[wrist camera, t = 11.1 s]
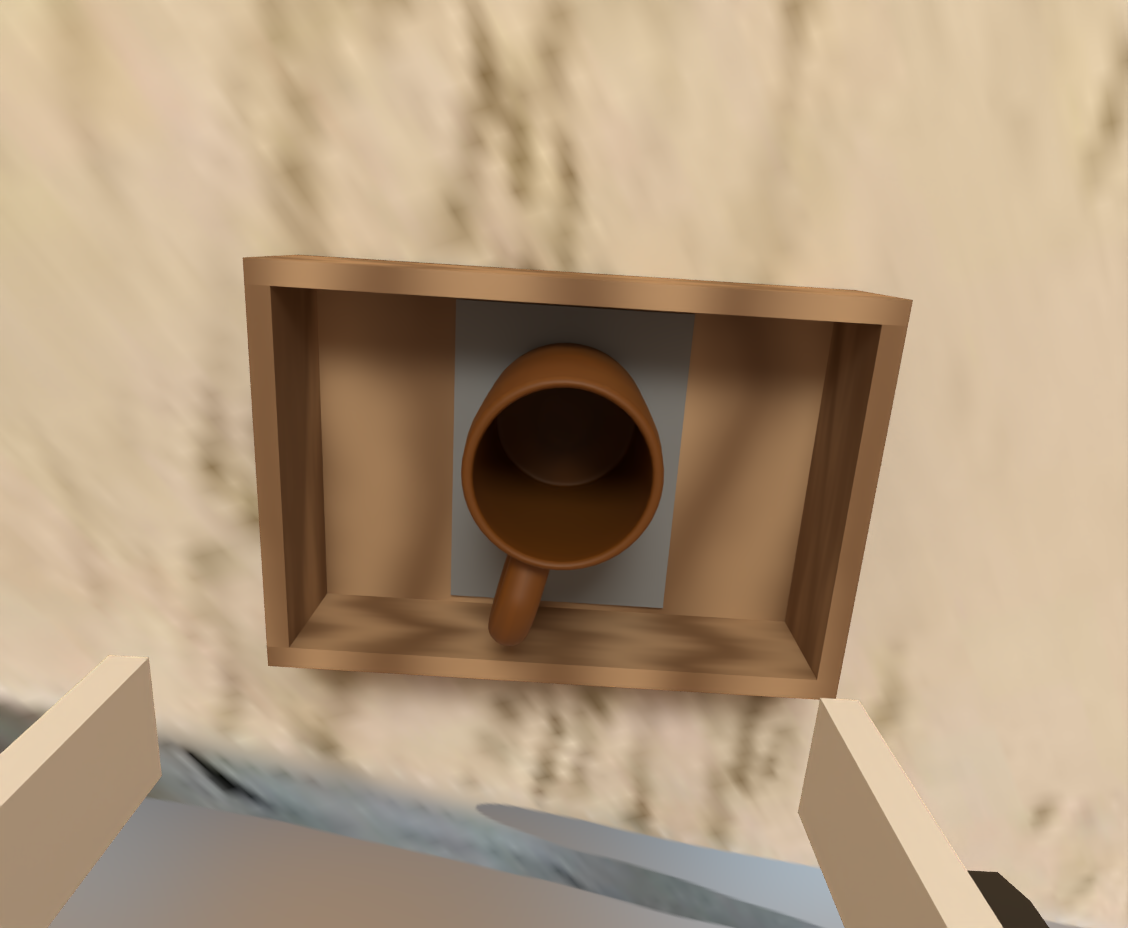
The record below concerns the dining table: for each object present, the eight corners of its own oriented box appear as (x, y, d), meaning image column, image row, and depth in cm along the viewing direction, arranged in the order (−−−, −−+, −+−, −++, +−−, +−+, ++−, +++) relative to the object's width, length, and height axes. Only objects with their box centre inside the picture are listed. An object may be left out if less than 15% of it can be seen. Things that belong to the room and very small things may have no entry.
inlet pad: (451, 592, 39) (450, 595, 38) (457, 298, 34) (456, 299, 34) (662, 605, 39) (662, 608, 38) (694, 314, 34) (695, 314, 34)
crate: (312, 604, 40) (268, 665, 34) (298, 255, 34) (242, 257, 29) (797, 633, 40) (835, 700, 34) (856, 290, 34) (912, 300, 29)
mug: (586, 588, 38) (589, 696, 29) (444, 545, 37) (402, 642, 28) (667, 368, 35) (700, 413, 26) (512, 317, 34) (490, 344, 25)
